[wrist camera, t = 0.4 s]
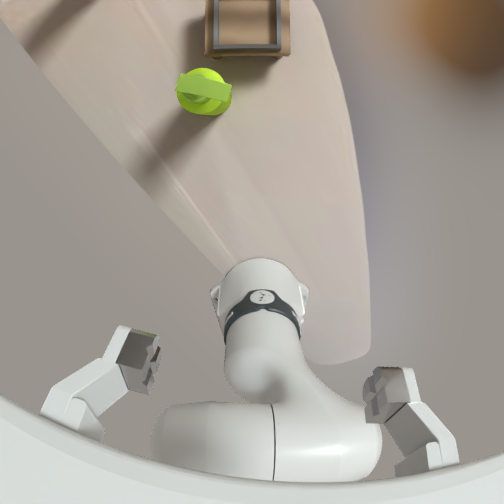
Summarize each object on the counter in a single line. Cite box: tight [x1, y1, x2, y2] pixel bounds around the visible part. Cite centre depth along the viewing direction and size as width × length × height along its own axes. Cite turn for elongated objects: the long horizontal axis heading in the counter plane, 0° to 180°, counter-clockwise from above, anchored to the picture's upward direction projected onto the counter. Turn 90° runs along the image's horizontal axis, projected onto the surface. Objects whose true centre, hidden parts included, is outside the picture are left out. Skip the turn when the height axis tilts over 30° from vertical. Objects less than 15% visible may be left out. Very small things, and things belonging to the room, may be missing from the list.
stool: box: [205, 0, 290, 59], centre depth 36 cm, size 11×12×8 cm
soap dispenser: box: [175, 68, 232, 116], centre depth 35 cm, size 6×7×20 cm
